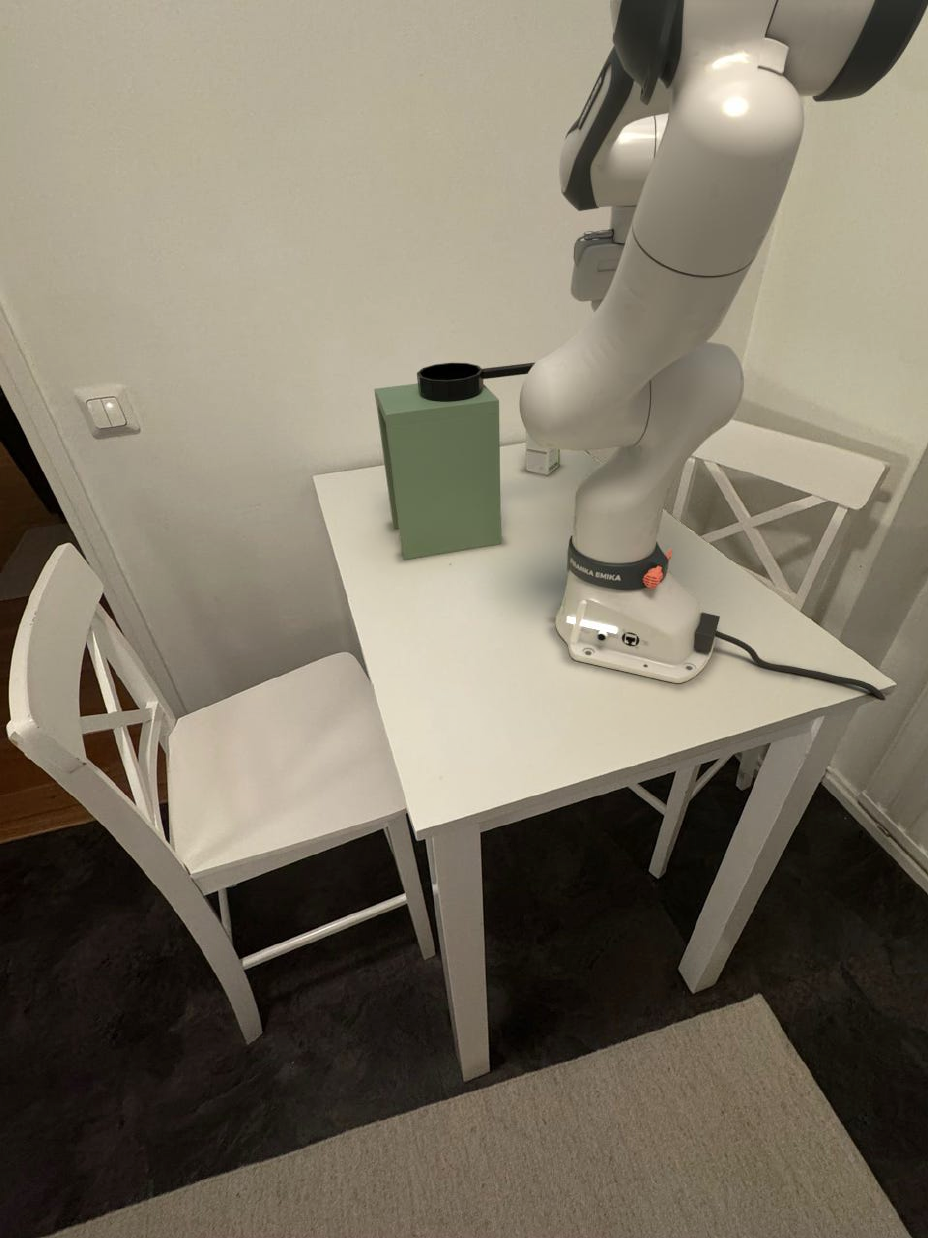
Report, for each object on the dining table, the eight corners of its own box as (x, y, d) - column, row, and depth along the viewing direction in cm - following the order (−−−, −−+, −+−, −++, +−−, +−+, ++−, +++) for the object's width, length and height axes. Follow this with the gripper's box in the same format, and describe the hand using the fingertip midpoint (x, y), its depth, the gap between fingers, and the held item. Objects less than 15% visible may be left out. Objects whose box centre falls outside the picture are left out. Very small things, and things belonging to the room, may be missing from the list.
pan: (561, 368, 107) (562, 349, 105) (584, 385, 99) (585, 364, 97) (414, 386, 102) (412, 366, 100) (426, 405, 94) (424, 383, 92)
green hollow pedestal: (481, 510, 121) (476, 376, 106) (501, 543, 110) (499, 399, 95) (392, 524, 118) (374, 388, 103) (404, 560, 107) (385, 414, 92)
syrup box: (548, 475, 133) (550, 409, 124) (524, 470, 135) (525, 405, 127) (559, 466, 136) (562, 401, 128) (536, 461, 139) (538, 397, 130)
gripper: (583, 233, 87) (577, 336, 96) (710, 223, 91) (694, 323, 99) (567, 230, 92) (562, 328, 101) (688, 220, 96) (674, 316, 104)
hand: (628, 326), depth 100 cm, fingers open, 8 cm apart
